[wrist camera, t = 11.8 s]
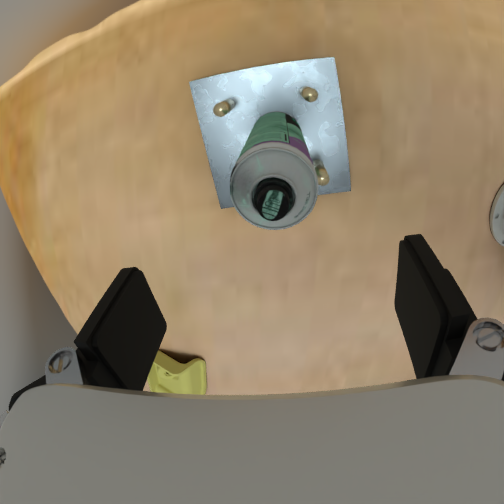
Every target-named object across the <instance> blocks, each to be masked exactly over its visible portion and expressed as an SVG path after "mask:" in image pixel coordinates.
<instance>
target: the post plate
mask: <svg viewBox="0 0 504 504" xmlns="http://www.w3.org/2000/svg"><path fill="white" fill-rule="evenodd" d="M189 83H190V88H191V92H192V96H193V100H194V104H195V108H196V112H197V116H198V120H199V124H200V128H201V132H202V136H203V140H204V144H205V148H206V152H207V156H208V160H209V164H210V168H211V172H212V176H213V180H214V183H215V187H216V191H217V195H218V199H219V203H220V207H221V209H223V208H229V207H234V205H233V203H232V200H231V196H230V178H231V173H232V170H233V168H234V166H235V163H236V161H237V159H238V157H239V155H240V153H241V151H242V149H243V147H244V145H245V143H246V141H247V139H248V137H249V134H250V132H251V130H252V128H253V126H254V124H255V123H256V121H257V120H258V119H259V118H260V117H261V116H263V115H264V114H266V113H269V112H274V111H279V112H284V113H287V114H289V115H290V116H292V117H293V118H294V119H295V120H296V121H297V122H298V124H299V126H300V128H301V131H302V134H303V137H304V139H305V142H306V145H307V148H308V150H309V153H310V156H311V159H312V162H313V165H314V168H315V171H316V174H317V177H318V195H321V194H330V193H338V192H347V191H351V184H350V171H349V161H348V151H347V141H346V133H345V124H344V117H343V109H342V102H341V95H340V89H339V82H338V76H337V71H336V65H335V59H334V57H329V58H318V59H308V60H299V61H291V62H284V63H277V64H271V65H265V66H259V67H253V68H248V69H243V70H238V71H233V72H228V73H224V74H219V75H215V76H211V77H207V78H203V79H199V80H195V81H191V82H189Z"/></svg>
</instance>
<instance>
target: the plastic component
mask: <svg viewBox="0 0 504 504" xmlns="http://www.w3.org/2000/svg"><path fill="white" fill-rule="evenodd" d="M147 379H148V383H149V387H150V391H151V392H160V393H176V394H198V395H205V393H206V386H207V383H206V363H205V361H203V360H202V359H199V358H196V359H193V360H191V361H190V362H188V363H186V364H181V363H179V362H177V361H175V360H174V359H172V358H171V357H169V356H167V355H166V354H164V353H163V352H161V351H159V350H158V352H157V355H156V357H155V360H154V362H153V365H152V367H151V370H150V372H149V375H148V378H147Z"/></svg>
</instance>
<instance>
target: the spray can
mask: <svg viewBox="0 0 504 504" xmlns="http://www.w3.org/2000/svg"><path fill="white" fill-rule="evenodd" d="M317 195H318V177H317V174H316V171H315V168H314V165H313V162H312V159H311V156H310V153H309V150H308V148H307V145H306V142H305V139H304V137H303V134H302V131H301V128H300V126H299V124H298V122H297V121H296V120H295V119H294V118H293V117H292V116H290V115H289V114H287V113H284V112H279V111H274V112H269V113H266V114H264V115H263V116H261V117H260V118H259V119H258V120H257V121H256V123H255V124H254V126H253V128H252V130H251V132H250V134H249V137H248V139H247V141H246V143H245V145H244V147H243V149H242V151H241V153H240V155H239V157H238V159H237V161H236V163H235V166H234V168H233V170H232V173H231V178H230V196H231V200H232V203H233V205H234V207H235V209H236V210H237V212H238V213H239V214H240V215H241V216H242V217H243V218H244V219H245V220H246V221H248V222H249V223H251V224H252V225H255V226H257V227H260V228H264V229H269V230H279V229H286V228H289V227H292V226H294V225H296V224H298V223H300V222H301V221H302V220H304V219H305V218H306V217H307V216H308V215H309V214H310V212H311V211H312V209H313V207H314V206H315V203H316V200H317Z"/></svg>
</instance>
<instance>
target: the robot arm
mask: <svg viewBox="0 0 504 504" xmlns="http://www.w3.org/2000/svg"><path fill="white" fill-rule="evenodd" d="M490 229H491V232H492V235H493V237H494V238H495V240H496V241H497V242H498V243H499V244H500V245H502V246H504V184H503V186H502V187H501V188H500V190H499V191H498V193H497V195H496V197H495V199H494V202H493V205H492V208H491V213H490ZM395 310H396V314H397V317H398V319H399V322H400V325H401V328H402V331H403V335H404V338H405V341H406V344H407V347H408V350H409V354H410V357H411V360H412V364H413V367H414V371H415V374H416V378H417V379H413V380H407V381H401V382H394V383H388V384H381V385H373V386H365V387H357V388H349V389H340V390H330V391H319V392H306V393H290V394H268V395H198V394H176V393H160V392H147V391H143V388H144V386H145V383H146V380H147V378H148V375H149V372H150V370H151V367H152V365H153V362H154V360H155V357H156V355H157V352H158V349H159V347H160V344H161V342H162V339H163V337H164V334H165V332H166V328H167V325H166V321H165V319H164V317H163V315H162V313H161V311H160V309H159V306H158V304H157V302H156V300H155V298H154V296H153V294H152V292H151V289H150V287H149V285H148V283H147V281H146V278H145V276H144V274H143V272H142V271H140V270H139V269H138V268H136V267H131V268H123V269H122V270H121V271H120V272H119V273H118V275H117V276H116V278H115V279H114V281H113V282H112V284H111V285H110V286H109V288H108V289H107V291H106V292H105V294H104V295H103V297H102V298H101V300H100V301H99V303H98V304H97V306H96V307H95V309H94V310H93V312H92V313H91V315H90V317H89V318H88V320H87V321H86V323H85V324H84V326H83V328H82V329H81V331H80V332H79V334H78V336H77V337H76V339H75V340H74V343H75V344H76V346H77V347H78V348H77V350H76V351H75V350H74V349H73V348H71V347H64V348H61V349H59V350H57V351H56V352H54V353H53V354H52V355H51V356H50V358H49V359H48V361H47V363H46V365H45V375H44V376H43V377H41V378H40V379H38V380H36V381H34V382H33V383H31V384H29V385H28V386H26V387H25V388H23V389H21V390H19V391H18V392H16V393H15V394H14V395H13V396H12V398H11V401H10V404H9V412H8V411H7V410H6V411H5V412H4V413H3V414H2V415H1V416H0V504H504V324H502V323H501V322H500V321H498V320H496V319H492V318H480V319H477V318H476V316H475V314H474V312H473V310H472V308H471V307H470V305H469V303H468V301H467V300H466V298H465V296H464V295H463V293H462V291H461V289H460V288H459V286H458V285H457V283H456V281H455V280H454V278H453V276H452V275H451V273H450V272H449V271H448V269H444V268H443V266H442V265H441V263H440V262H439V260H438V259H437V257H436V255H435V254H434V252H433V251H432V249H431V248H430V246H429V245H428V243H427V242H426V240H425V239H424V237H423V236H422V235H421V234H416V235H408V236H405V238H404V240H402V241H400V243H399V258H398V271H397V283H396V293H395Z"/></svg>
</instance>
